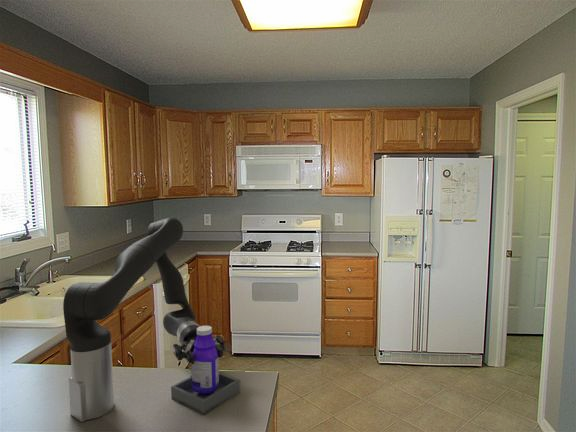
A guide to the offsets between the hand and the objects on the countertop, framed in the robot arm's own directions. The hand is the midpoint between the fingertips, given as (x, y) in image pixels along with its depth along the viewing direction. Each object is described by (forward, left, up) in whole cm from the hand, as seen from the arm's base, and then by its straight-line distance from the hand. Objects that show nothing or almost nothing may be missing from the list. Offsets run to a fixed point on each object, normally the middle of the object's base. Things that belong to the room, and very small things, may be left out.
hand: (207, 357), depth 99 cm
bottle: (+1, +2, -10) cm, 10 cm away
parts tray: (+1, +2, -12) cm, 12 cm away
